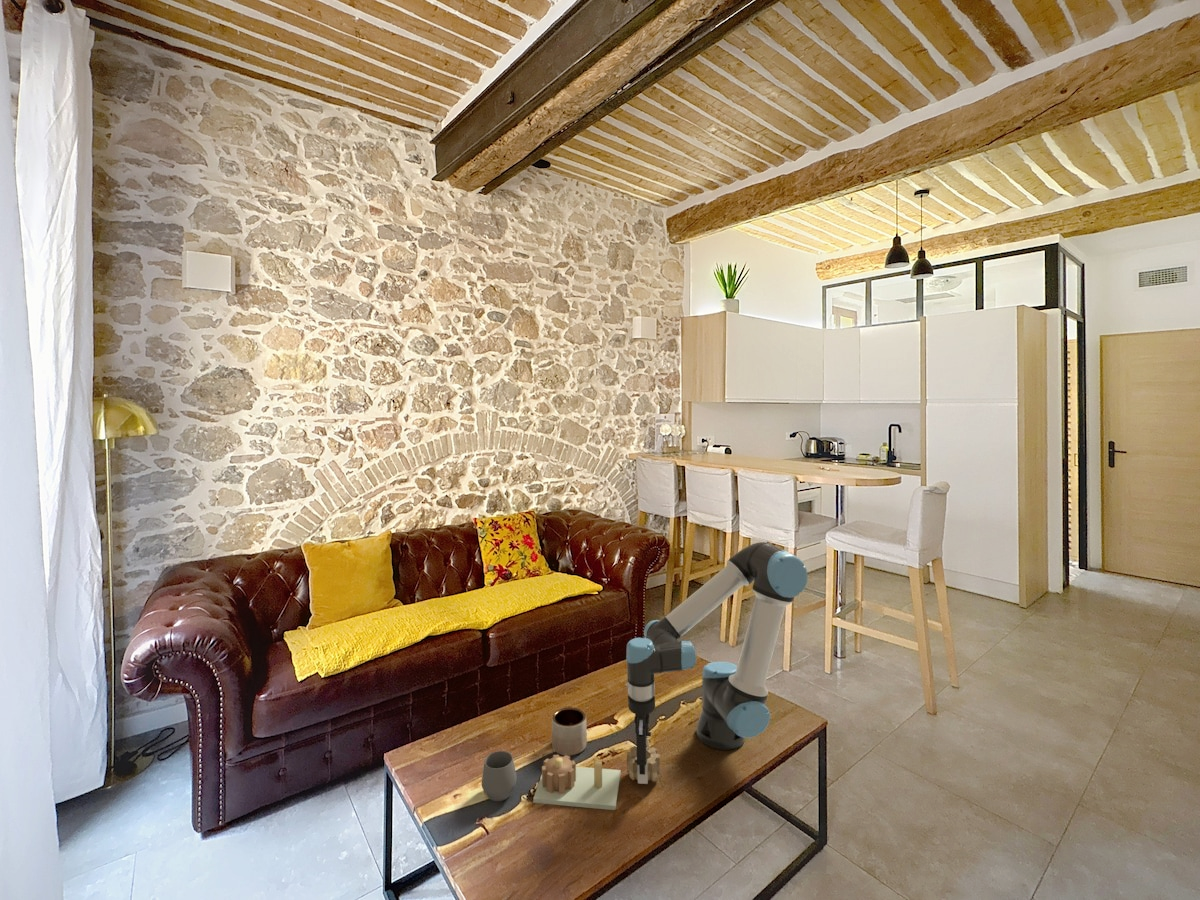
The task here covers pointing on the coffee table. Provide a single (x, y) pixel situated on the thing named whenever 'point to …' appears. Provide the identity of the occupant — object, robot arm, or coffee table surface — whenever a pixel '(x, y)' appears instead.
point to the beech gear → (652, 763)
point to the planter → (569, 731)
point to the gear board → (577, 784)
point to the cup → (499, 775)
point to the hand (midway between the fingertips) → (643, 770)
